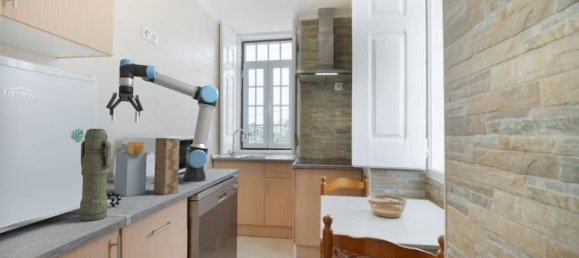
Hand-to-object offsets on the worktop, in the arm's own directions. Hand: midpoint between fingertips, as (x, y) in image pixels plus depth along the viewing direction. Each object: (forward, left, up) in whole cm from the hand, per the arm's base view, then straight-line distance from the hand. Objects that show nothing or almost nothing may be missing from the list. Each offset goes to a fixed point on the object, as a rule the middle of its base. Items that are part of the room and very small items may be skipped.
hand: (125, 121), depth 169 cm
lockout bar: (+5, +18, -17) cm, 25 cm away
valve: (+28, +42, -39) cm, 64 cm away
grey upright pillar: (+6, +20, -39) cm, 44 cm away
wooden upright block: (-7, +32, -39) cm, 51 cm away
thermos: (+36, +50, -39) cm, 73 cm away
